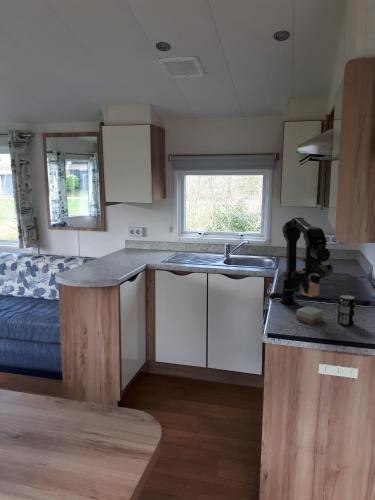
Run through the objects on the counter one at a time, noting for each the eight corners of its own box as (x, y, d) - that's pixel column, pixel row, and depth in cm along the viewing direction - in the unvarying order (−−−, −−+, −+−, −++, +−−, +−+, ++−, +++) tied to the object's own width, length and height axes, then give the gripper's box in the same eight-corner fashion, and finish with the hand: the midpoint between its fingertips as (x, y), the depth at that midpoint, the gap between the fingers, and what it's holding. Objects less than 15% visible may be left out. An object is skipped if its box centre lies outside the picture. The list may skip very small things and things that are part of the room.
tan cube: (309, 292, 173) (309, 281, 172) (318, 295, 169) (319, 284, 168) (301, 294, 170) (302, 283, 169) (311, 297, 166) (311, 285, 165)
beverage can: (349, 321, 170) (351, 294, 168) (356, 326, 163) (358, 298, 161) (334, 321, 170) (336, 294, 168) (341, 326, 163) (343, 299, 161)
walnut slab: (307, 316, 177) (307, 311, 176) (322, 321, 170) (322, 316, 170) (295, 320, 172) (296, 314, 172) (311, 325, 166) (311, 319, 165)
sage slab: (307, 311, 176) (307, 306, 176) (322, 316, 170) (323, 310, 170) (296, 315, 172) (296, 309, 171) (312, 319, 165) (312, 314, 165)
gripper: (313, 262, 155) (311, 300, 157) (342, 257, 165) (339, 293, 168) (292, 258, 164) (290, 294, 166) (320, 254, 174) (318, 287, 177)
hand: (310, 292), depth 169 cm, fingers closed on tan cube, 5 cm apart
